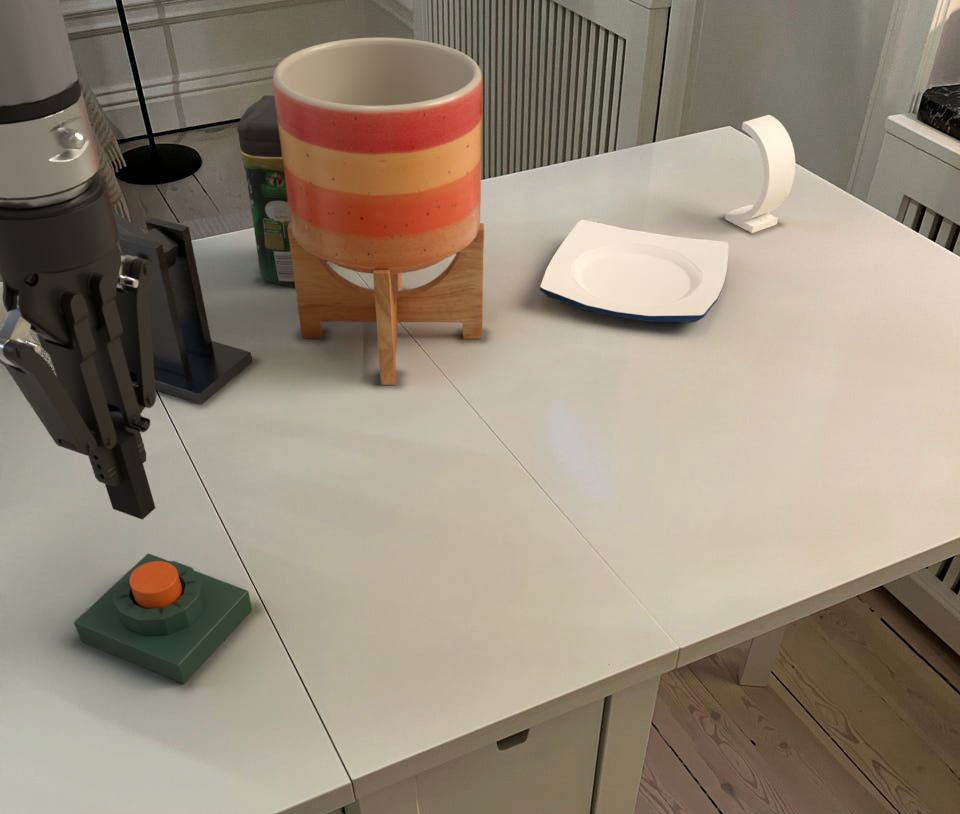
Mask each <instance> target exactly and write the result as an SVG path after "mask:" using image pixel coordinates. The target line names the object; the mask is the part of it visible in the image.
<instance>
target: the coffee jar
mask: <svg viewBox="0 0 960 814" xmlns="http://www.w3.org/2000/svg"><path fill="white" fill-rule="evenodd" d="M237 133H238V134H237V135H238V142H239V148H240V149H239V151H240V155H241V160H242V163H243V167H244V173H245V177H246V182H247V183H246V184H247V190H248V196H249V203H250V209H251V216H252V217H251V218H252V223H253V230H254V238H255V246H256V251H257V259H258V267H259V272H260V275H261V277H262V278H263V279H264V280H266V281H268V282H272V283H275V284H278V285H283V286H295V281H294V273H293V266H292V258H291V250H290V243H289V236H288V225H289V222H290V216H289V209H288V202H287V193H286V184H285V175H284V167H283V159H282V151H281V143H280V136H279V129H278V122H277V115H276V107H275V97H274V95H273V94H272V95H271V94H270V95H267V94H266V95H263V96H262V97H261V99H260V98H259V100H257V101H255V102H253V104H251V105H250V106H248V107H247V108H246V110H245V111H244V113H243V114H242V116H241V117H240V119H239V121H238V124H237ZM325 261H326V262H327V263H328V261H327V260H325Z"/></svg>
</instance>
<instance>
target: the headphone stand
mask: <svg viewBox="0 0 960 814" xmlns="http://www.w3.org/2000/svg"><path fill="white" fill-rule="evenodd" d="M741 131H744V132H746V133H747V134H748V135H749V136H750V137H751V138H752V140H753V141H754V142H755V143H756V146H757V148H758V149H759V153H760V155H761V158H762V163H763V172H764V173H763V183H762V184H763V185H762V189H761V192H760V195H759V197H758V200H757V201H756V203H755V204H754V205H753V204H748V205H745V206H742V207H738V208H735V209H733V210H730V211H727V212H725V214H724V220H726V221H728V222H730V223H732V224H734V225H735V226H737V227H739V228H741V229H742V230H745V231H747V232H748V233H750V234H754V233H756V232H759V231H762V230H765V229H768V228H770V227H773V226H776V225H777V224H778V221H779V217H776V216H775V215H774V214H770V213H771V212H773V211H775V210H777V209H778V208H779V207H780V206H781V205H782V204H783V203H785V201H786V199H787V198H788V196H789V195H790V192H791V190H792V187H793V184H794V180H795V174H796V155H795V149H794V144H793V142H792V140H791V137H790V134H789V132H788V131H787V130H786V128H785V126H784V125H783V124H782V122H780V121H779V120H778V119H777V118H776V117H774V116H773V115H772V114H767V115H762V116H760V117H756V118H753V119H749V120H746V121H743V122H742V125H741Z"/></svg>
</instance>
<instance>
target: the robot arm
mask: <svg viewBox="0 0 960 814" xmlns="http://www.w3.org/2000/svg"><path fill="white" fill-rule="evenodd" d="M82 90H83V89H82V86H81V83H80V79H79V76H78V72H77V67H76V63H75V59H74V55H73V50H72V47H71V42H70V39H69V35H68V31H67V26H66V22H65V17H64V15H63V10H62V6H61V1H60V0H0V277H1V279H2V304H3V306H4V308H5V310H6V311H7V315H6V317H5V319H4V321H3V323H2V325H1V328H0V364H1V365H2V366H4V367H5V368H6V370H7V372H8V373H9V375H10V376H11V378H12V380H13V381H14V383H15V384H16V386H17V387H18V389H19V390H20V391H21V393H22V395H23V396H24V398H25V400H26V401H27V402H28V404H29V405H30V407H31V408H32V409H33V412H34V413H35V414H36V416H37V417H38V419H39V420H40V422H41V424H42V425H43V426H44V429H46V431H47V432H48V434H49V436H50V437H51V438H52V440H53V441H54V444H55V445H57V446H58V447H61V448H64V449H67V450H69V451H72V452H75V453H78V454H81V455H84V456H87V457H88V459H89V463H90V465H91V468H92V471H93V474H94V478H95V479H96V481H98V482H99V483H102V484H104V486H105V488H106V492H107V495H108V498H109V501H110V504H111V507H112V510H115V511H118V512H120V513H122V514H125V515H128V516H131V517H133V518H137V519H140V520H142V521H143V520H144V519H145V518H146V517H147V516H149V515H150V514H151V513H152V512H153V511H154V510H155V509H156V504H155V501H154V497H153V494H152V491H151V487H150V484H149V480H148V477H147V473H146V469H145V466H144V463H146V462H147V451H146V447H145V444H144V440H143V437H142V433H145V432H147V431H148V430H149V429H150V426H151V418H148V417H145V416H143V415H142V413H143V411H144V410H145V409H146V408H147V409H151V408H152V407H154V405H155V403H156V399H157V394H156V390H155V378H154V364H153V350H152V335H151V321H150V307H149V294H150V287H151V281H152V275H153V265H152V263H151V262H150V261H149V260H145V259H141V258H137V257H134V256H130V255H126V254H122V252H121V250H120V249H119V247H118V245H117V242H118V240H119V239H118V238H119V233H118V229H117V225H116V221H115V217H114V213H113V211H114V209H113V206H112V202H111V198H110V194H109V190H108V185H107V182H106V180H105V178H104V177H103V176H102V175H101V174H100V173H99V172H98V170H99V169H100V166H101V165H100V156H99V152H98V149H97V145H96V141H95V137H94V133H93V129H92V125H91V122H90V118H89V114H88V110H87V106H86V102H85V99H84V95H83V94H84V93H83V91H82ZM32 331H33V333H35V334H36V335H37V339H38V342H39V343H37V342H36V339H35V338H34V337H33V336H32ZM42 349H43V350H44V351H45V352H46V353H47V354H48V356H49V358H50V360H51V364H52V367H53V368H52V367H51V366H50V363H49V362H48V361H47V360H46V359H45V358H44V357H43V356H42V355H40V353H41V352H42ZM133 382H137V383H138V384H137V385H134V383H133Z"/></svg>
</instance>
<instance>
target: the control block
mask: <svg viewBox="0 0 960 814" xmlns="http://www.w3.org/2000/svg"><path fill="white" fill-rule="evenodd" d="M154 561H163V562H167V563H170V564H171V565H173V566H174V567H175V568H176V570H177V572H178V576H179V579H180V583H181V587H182V592H181V595H180V597H179V598H178V599H177V600H176V601H175V602H174V603H173V604H170V605H168V606H165V607H163V608H158V609H148V608H144V607H142V606H140V605H139V604H138V603H137V602H136V601H135V598H134V595H133V592H132V589H131V586H130V583H129V579H130V576H131V574H132V572H133V571H134V570H135V569H136V568H138V567H139V566H141V565H143V564H145V563H149V562H154ZM250 597H251V596H250V592H249V590H248V589H244V588H242V587H239V586H237V585H234V584H231V583H229V582H226V581H223V580H221V579H218V578H216V577H213V576H210V575H208V574H205V573H203V572H199V571H196V570H194V568H193V567H191V566H188V565H186V564H183V563H180V562H178V561H174V560H168V559H164V558H162V557H159V556H157V555H154V554H151V553H147V554H146V555H144V556H143V557H142V558H141V559H140V560H139V561H138V562H137V563H136V564H134V566H132V567H131V568H130V569H129V571H127V572H126V573H125V574H124V575H122V577H121V578H120V579H119V580H117V582H115V583H114V584H113V585H112V586H111V587H110V588H109V589H108V590H107V591H105V592H104V593H103V595H101V596H100V597H99V598H98V599H97V600H96V601H95V602H93V604H92V605H90V607H88V608H87V609H86V610H85V611H84V612H83V613H82V614H81V615H80V616H79V617H77V619H75V621H73V624H74V627H75V629H76V632H77V635H78V636H79V639H80V642H81V643H84V644H87V645H88V646H91V647H94V648H96V649H99V650H101V651H104V652H105V653H109V654H111V655H113V656H115V657H118V658H120V659H123V660H125V661H127V662H130V663H132V664H135V665H137V666H139V667H141V668H144V669H146V670H149V671H151V672H154V673H155V674H159V675H161V676H163V677H166V678H168V679H170V680H173V681H175V682H176V683H179V684H180V683H181V684H183V685H185V684H186V683H187V682H188V681H189V679H191V677H192V676H193V675H194V674H195V673H196V672H197V671H198V670H199V669H200V667H201V666H202V665H203V664H204V663H205V662H206V661H207V660H208V659H209V658H210V656H212V654H213V653H214V652H215V651H217V649H218V648H219V647H220V646H221V645H222V644H223V643H224V642H225V640H226V639H227V638H228V637H229V636H230V635H231V633H232V632H233V631H235V630H236V628H237V627H238V626H239V625H240V624H241V623H242V622H243V621H244V619H245V618H247V616H248V615H249V614H250V613H251V612H252V611H253V607H252V603H251V599H250Z"/></svg>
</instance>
